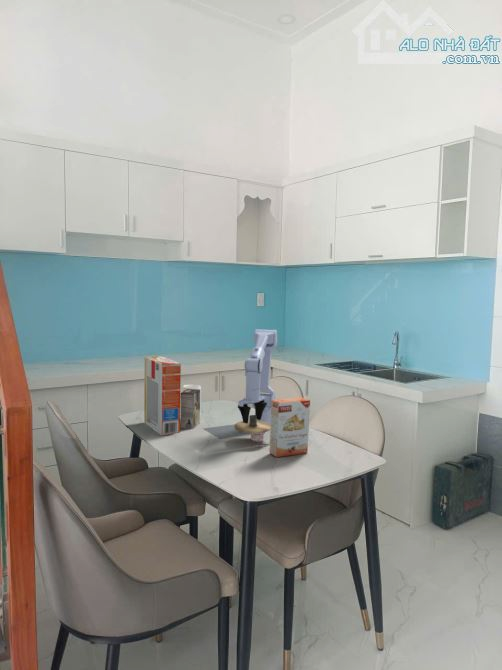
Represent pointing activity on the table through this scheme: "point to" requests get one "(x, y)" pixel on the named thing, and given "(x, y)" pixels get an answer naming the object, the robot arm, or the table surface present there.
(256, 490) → the table surface
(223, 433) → the mat
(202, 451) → the table surface
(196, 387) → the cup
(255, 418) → the lid
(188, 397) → the coffee box
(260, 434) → the teacup
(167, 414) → the pasta box
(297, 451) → the cracker box
